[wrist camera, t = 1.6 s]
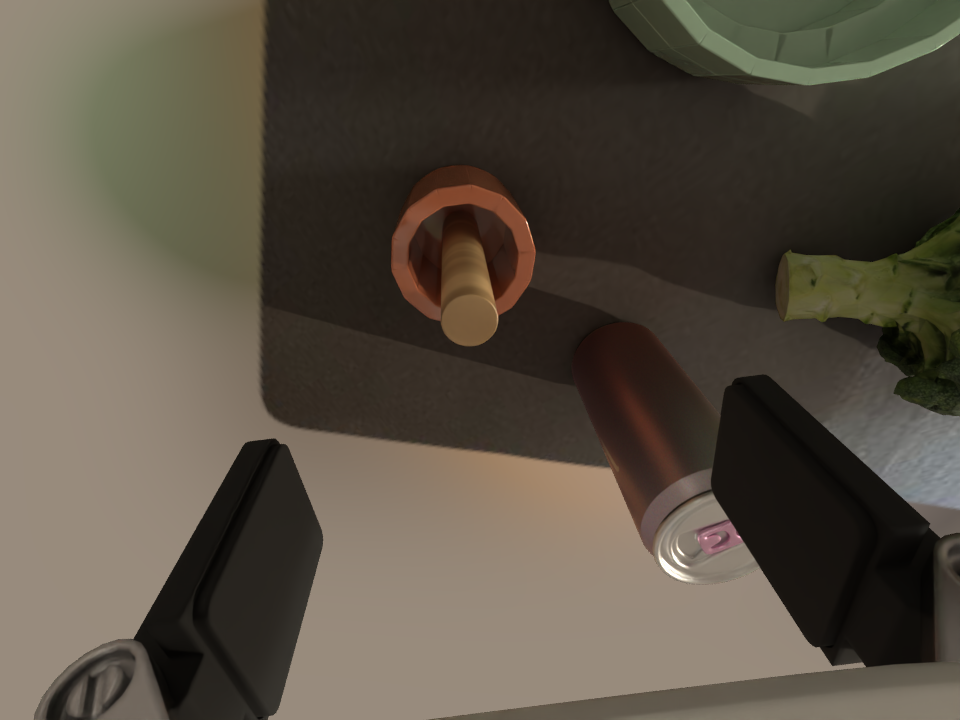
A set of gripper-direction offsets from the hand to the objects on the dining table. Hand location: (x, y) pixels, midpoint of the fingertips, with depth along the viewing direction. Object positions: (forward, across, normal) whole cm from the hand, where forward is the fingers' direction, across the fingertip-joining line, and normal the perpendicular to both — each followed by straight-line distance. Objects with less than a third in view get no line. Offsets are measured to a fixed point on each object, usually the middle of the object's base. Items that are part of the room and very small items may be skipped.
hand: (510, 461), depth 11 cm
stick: (+19, +1, 0) cm, 19 cm away
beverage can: (+20, -8, +10) cm, 24 cm away
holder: (+20, +1, 0) cm, 20 cm away
